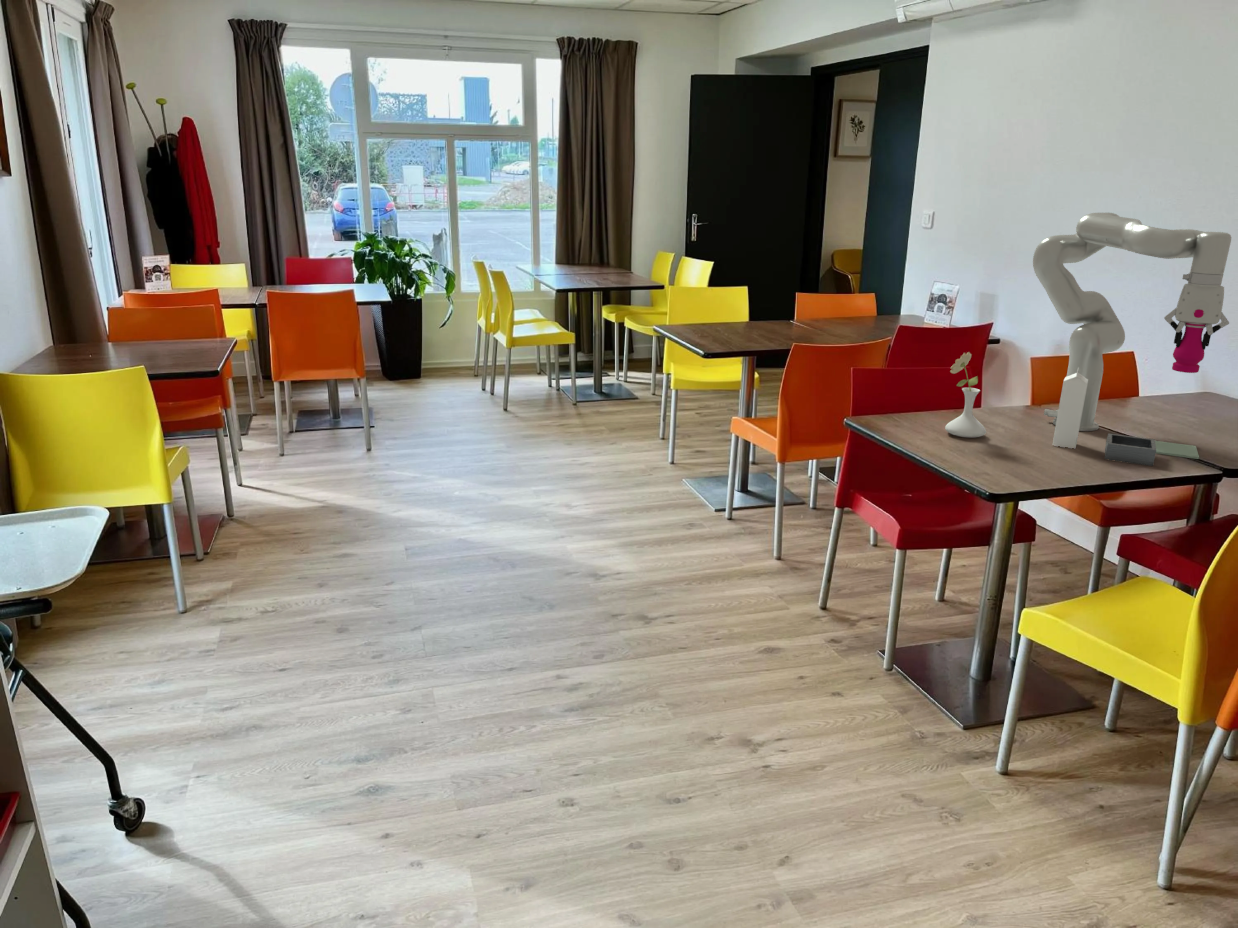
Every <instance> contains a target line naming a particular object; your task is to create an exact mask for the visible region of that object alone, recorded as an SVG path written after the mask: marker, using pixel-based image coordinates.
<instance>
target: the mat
mask: <svg viewBox="0 0 1238 928" xmlns="http://www.w3.org/2000/svg"><path fill="white" fill-rule="evenodd" d="M1155 444H1156V454H1158V455H1165V456H1171V457H1173V456H1174V457H1180V458H1189V459H1193V460H1194V459H1195V460H1199V459H1200V455H1199V452H1198V449H1197V445H1190V444H1184V443H1183V444H1182V443H1175V442H1168V441H1159V440H1155ZM1156 454H1155V455H1156Z"/></svg>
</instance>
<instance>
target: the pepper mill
mask: <svg viewBox="0 0 1238 928" xmlns="http://www.w3.org/2000/svg"><path fill="white" fill-rule="evenodd" d="M1203 312H1204V311H1203V310H1200V309H1197V310H1195V313H1194V312H1193V313H1194V317H1196V318H1201V317H1202V316H1203V314H1205V313H1203ZM1184 327H1185V329H1184V334H1183V335H1182V338H1181V343H1180V346H1179V347H1176V346H1175V348H1174V350H1173V353H1172V357H1173V358H1174V360H1175V361H1174V362H1172V366H1171V370H1172V371H1175V372H1179V373H1186V374H1187V373H1188V374H1195V373H1199V372H1200V371H1199V370H1200V367H1201V366H1200V365H1199V363H1200V362H1201V361H1203V360H1204V358H1205V350H1203V348H1202V345H1203V344H1202V340H1203V337H1202V336H1203V332H1204V329H1206V324H1199V323H1185V325H1184Z"/></svg>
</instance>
